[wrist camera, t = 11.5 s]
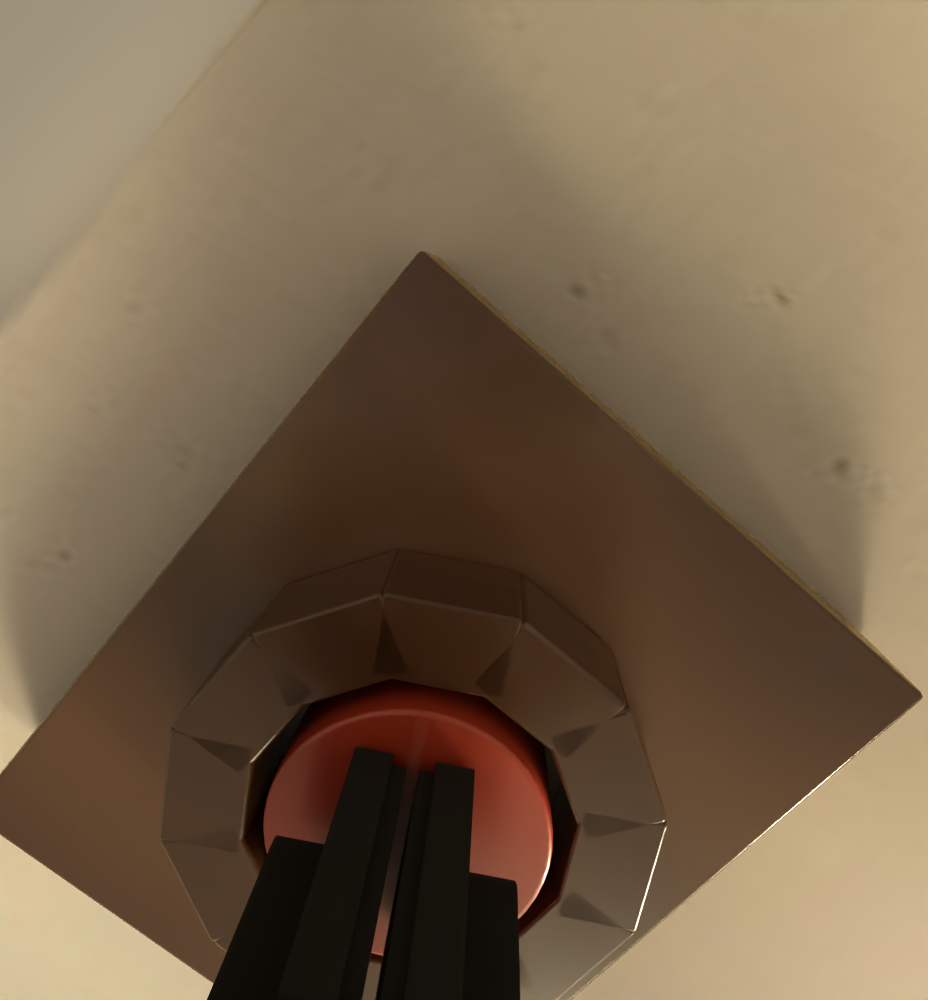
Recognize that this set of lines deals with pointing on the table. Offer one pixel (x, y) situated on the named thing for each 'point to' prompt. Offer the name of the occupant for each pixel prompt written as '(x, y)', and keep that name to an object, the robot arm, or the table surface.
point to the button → (418, 746)
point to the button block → (454, 646)
